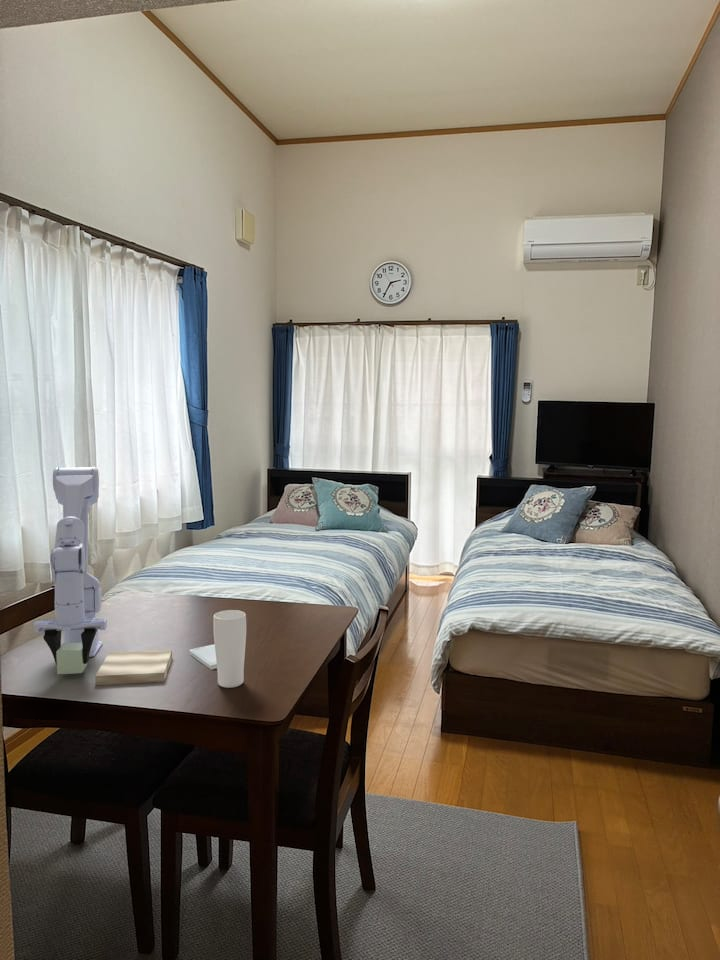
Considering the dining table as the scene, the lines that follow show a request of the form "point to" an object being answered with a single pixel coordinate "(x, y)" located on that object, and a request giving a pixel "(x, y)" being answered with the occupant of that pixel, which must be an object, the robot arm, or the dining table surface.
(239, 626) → the drinking glass
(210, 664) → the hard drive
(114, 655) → the birch base
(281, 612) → the dining table surface
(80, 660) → the sage cube
